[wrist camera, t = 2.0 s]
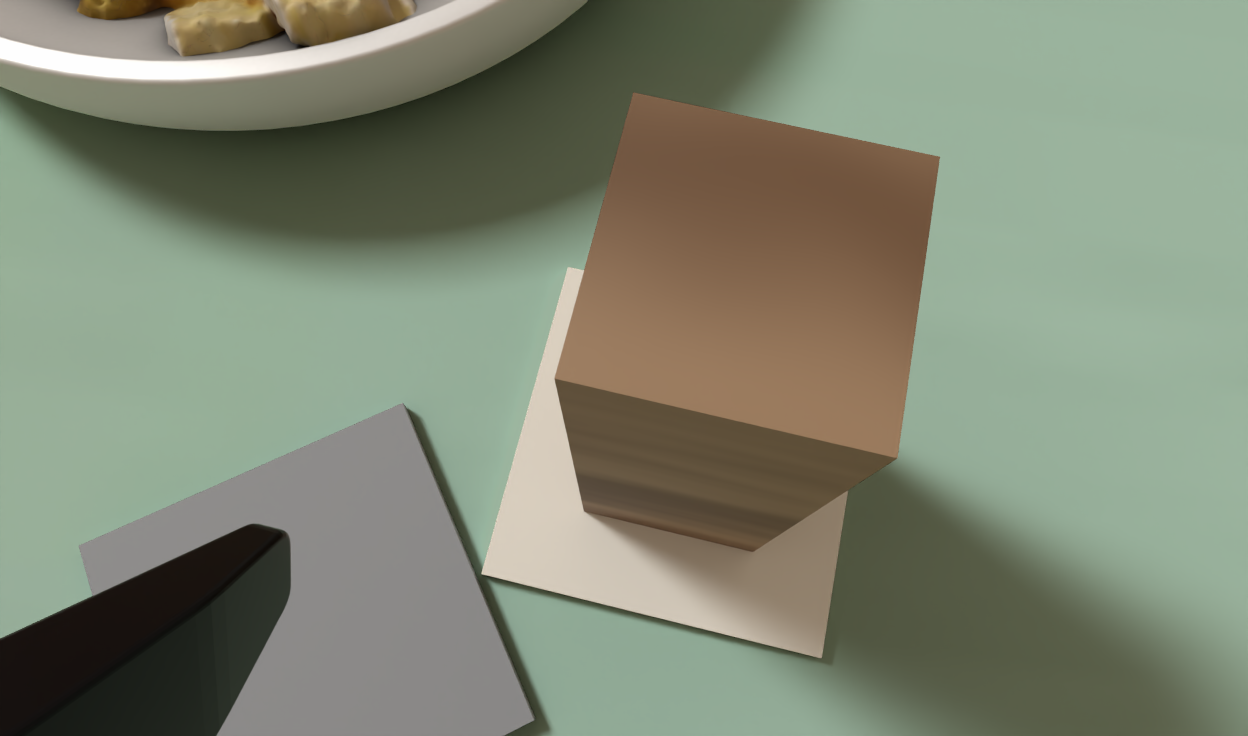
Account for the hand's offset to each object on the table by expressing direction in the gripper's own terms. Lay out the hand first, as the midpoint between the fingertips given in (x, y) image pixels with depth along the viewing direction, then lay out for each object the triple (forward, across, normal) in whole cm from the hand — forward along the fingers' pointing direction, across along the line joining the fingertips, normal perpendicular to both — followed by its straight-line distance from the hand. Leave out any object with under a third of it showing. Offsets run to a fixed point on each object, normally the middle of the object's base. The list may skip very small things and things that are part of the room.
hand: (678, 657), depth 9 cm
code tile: (+13, 0, +6) cm, 14 cm away
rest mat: (+8, +8, +11) cm, 16 cm away
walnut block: (+13, 0, +6) cm, 14 cm away
